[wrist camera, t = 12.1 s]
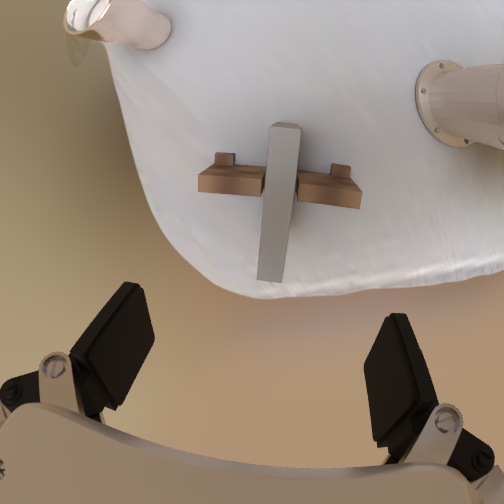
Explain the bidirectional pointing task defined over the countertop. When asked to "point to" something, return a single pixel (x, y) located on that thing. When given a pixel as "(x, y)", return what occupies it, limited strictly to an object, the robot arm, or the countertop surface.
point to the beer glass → (117, 22)
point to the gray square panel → (278, 200)
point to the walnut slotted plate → (307, 183)
